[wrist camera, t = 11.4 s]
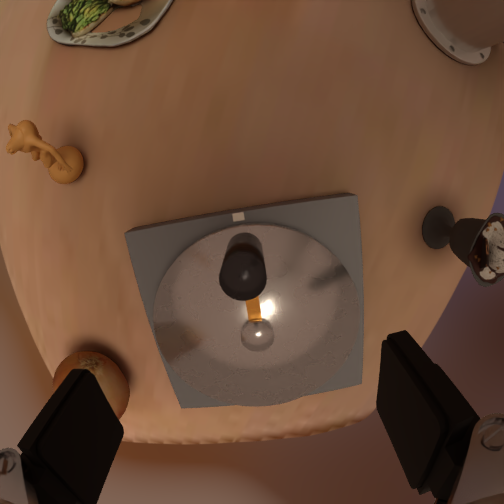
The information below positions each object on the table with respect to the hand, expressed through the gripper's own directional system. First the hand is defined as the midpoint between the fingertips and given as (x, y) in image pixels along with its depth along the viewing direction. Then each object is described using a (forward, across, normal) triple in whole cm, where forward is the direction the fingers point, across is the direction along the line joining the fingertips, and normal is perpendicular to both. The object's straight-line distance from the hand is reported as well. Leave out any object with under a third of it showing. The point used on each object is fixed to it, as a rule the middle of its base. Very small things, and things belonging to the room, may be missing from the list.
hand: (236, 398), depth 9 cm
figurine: (+22, +16, -12) cm, 30 cm away
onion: (+22, +21, +14) cm, 34 cm away
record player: (+19, 0, +8) cm, 21 cm away
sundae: (+22, -22, +2) cm, 31 cm away
